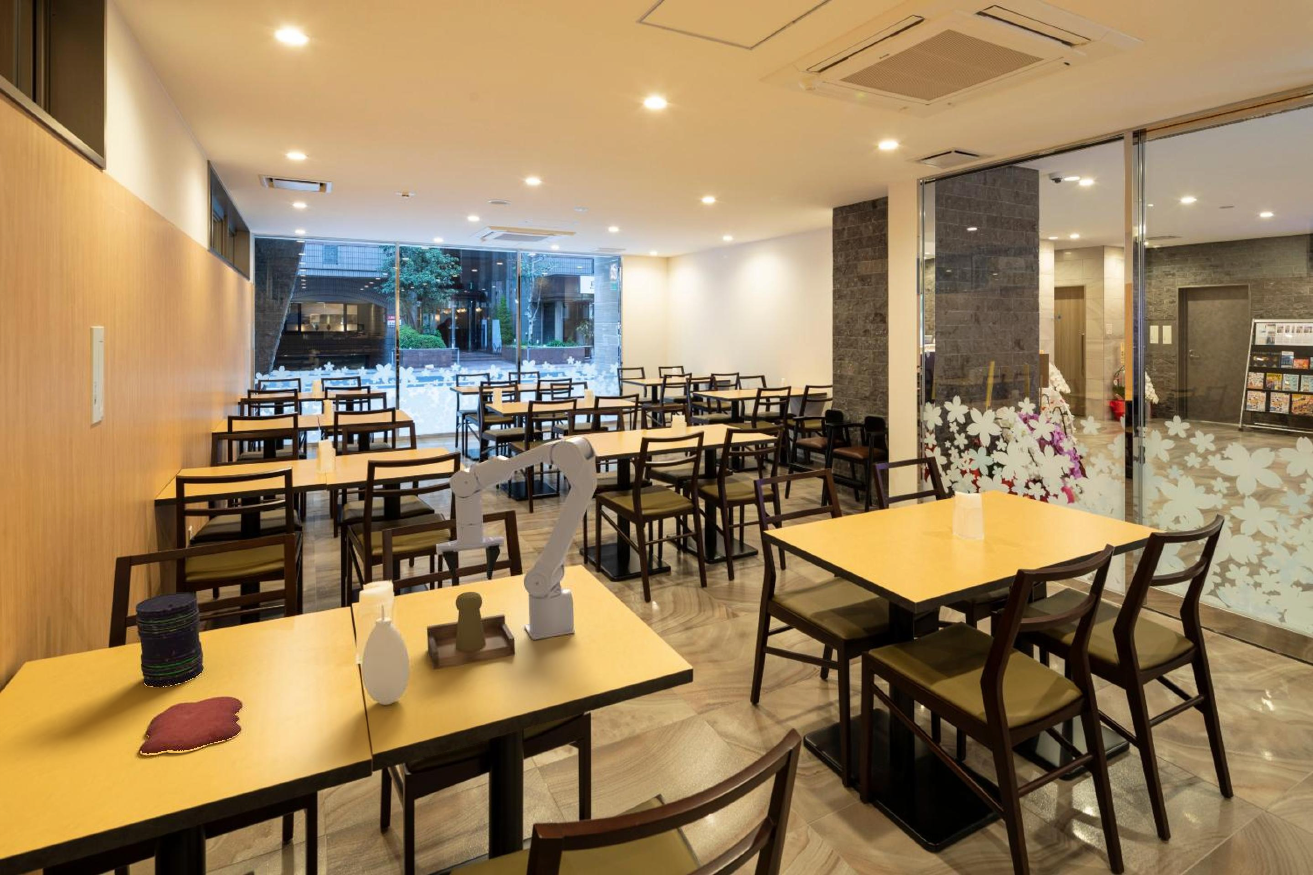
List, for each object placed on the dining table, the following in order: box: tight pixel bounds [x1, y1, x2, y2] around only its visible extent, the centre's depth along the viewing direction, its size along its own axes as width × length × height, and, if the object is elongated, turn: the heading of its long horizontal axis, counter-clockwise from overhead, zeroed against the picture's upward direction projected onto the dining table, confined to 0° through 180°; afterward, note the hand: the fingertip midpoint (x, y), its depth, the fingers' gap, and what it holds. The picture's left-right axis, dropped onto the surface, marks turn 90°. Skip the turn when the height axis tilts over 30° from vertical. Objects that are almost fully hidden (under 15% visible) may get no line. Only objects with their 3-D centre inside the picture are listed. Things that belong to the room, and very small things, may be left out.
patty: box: [139, 696, 243, 754], centre depth 118 cm, size 18×14×2 cm
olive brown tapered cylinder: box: [455, 591, 486, 652], centre depth 144 cm, size 6×6×11 cm
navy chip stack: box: [135, 592, 205, 688], centre depth 135 cm, size 10×10×15 cm
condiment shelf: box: [426, 613, 516, 670], centre depth 146 cm, size 16×10×5 cm, turn 114°
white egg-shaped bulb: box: [361, 604, 411, 706], centre depth 125 cm, size 8×8×18 cm
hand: (472, 581), depth 159 cm, fingers open, 7 cm apart
